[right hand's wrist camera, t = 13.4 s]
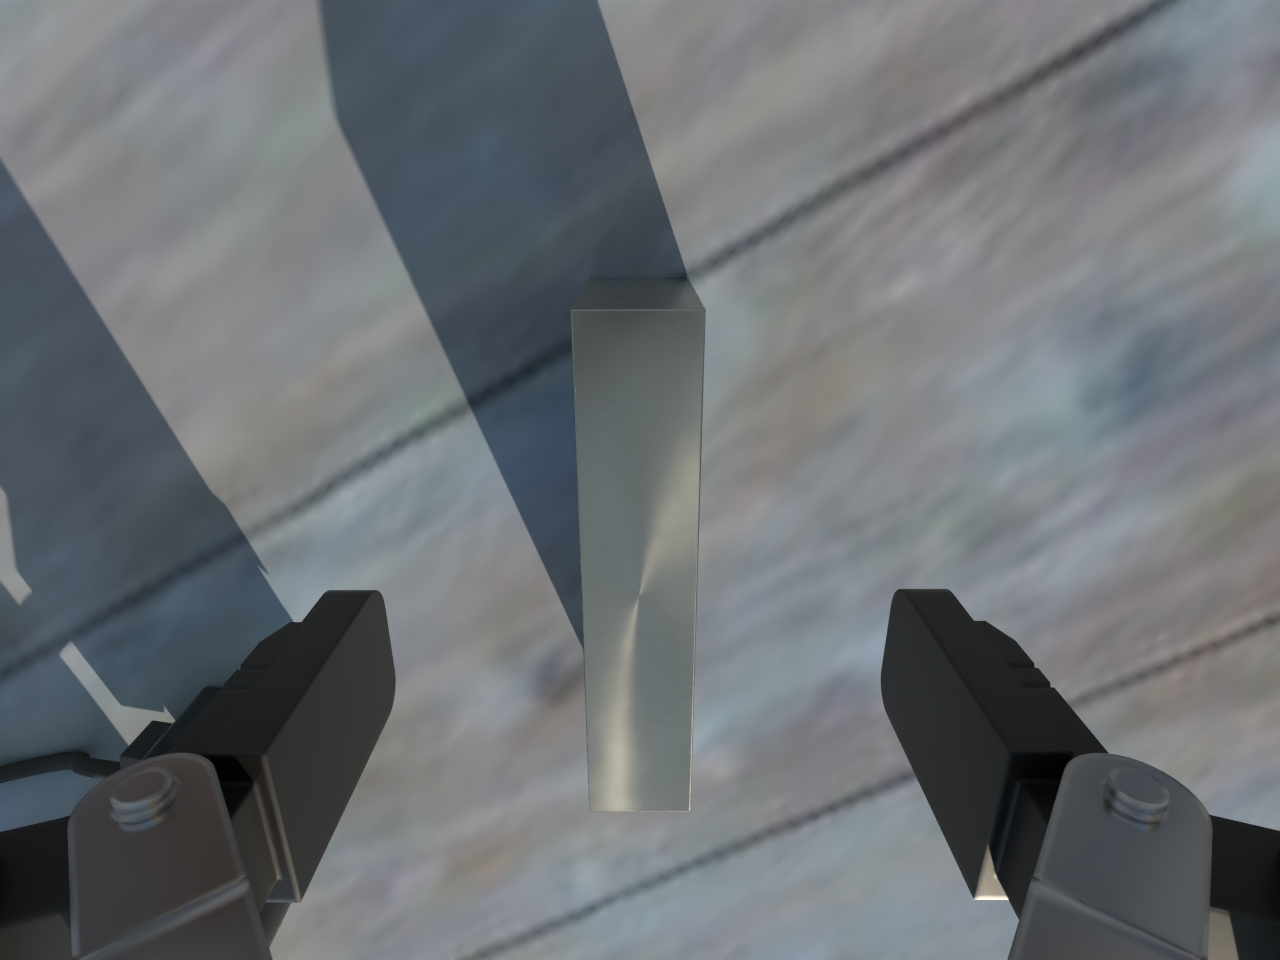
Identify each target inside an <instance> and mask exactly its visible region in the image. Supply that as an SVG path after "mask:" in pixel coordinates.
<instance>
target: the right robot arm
mask: <svg viewBox="0 0 1280 960" xmlns="http://www.w3.org/2000/svg"><path fill="white" fill-rule="evenodd" d="M881 691H882V698H883V703H884V707H885V710H886V713H887V715H888V717H889V720H890V722H891V724H892V726H893V728H894V730H895V732H896V734H897V737H898V739H899V741H900V743H901V745H902V747H903V749H904V751H905V754H906V756H907V758H908V760H909V762H910V764H911V766H912V768H913V771H914V773H915V775H916V777H917V779H918V781H919V783H920V786H921V788H922V790H923V792H924V794H925V796H926V798H927V800H928V803H929V805H930V807H931V809H932V811H933V813H934V815H935V817H936V820H937V822H938V824H939V826H940V828H941V830H942V832H943V835H944V837H945V839H946V841H947V843H948V845H949V847H950V849H951V852H952V854H953V856H954V858H955V860H956V862H957V864H958V866H959V869H960V871H961V873H962V875H963V877H964V879H965V881H966V884H967V886H968V888H969V890H970V892H971V894H972V896H973V898H974V900H1009V901H1010V903H1011V905H1012V907H1013V909H1014V911H1015V913H1016V915H1017V917H1018V919H1019V923H1018V926H1017V929H1016V933H1015V936H1014V940H1013V943H1012V946H1011V950H1010V953H1009V957H1008V960H1280V831H1277V830H1273V829H1269V828H1264V827H1260V826H1256V825H1251V824H1247V823H1243V822H1238V821H1234V820H1230V819H1225V818H1221V817H1217V816H1212V815H1209V814H1208V812H1207V810H1206V809H1205V807H1204V805H1203V804H1202V803H1201V802H1200V801H1199V799H1198V798H1197V797H1196V796H1195V795H1194V794H1193V793H1192V792H1191V791H1190V790H1189V789H1187V788H1186V787H1185V786H1184V785H1182V784H1181V783H1180V782H1178V781H1177V780H1176V779H1174V778H1172V777H1171V776H1169V775H1168V774H1166V773H1164V772H1162V771H1161V770H1159V769H1157V768H1155V767H1153V766H1150V765H1148V764H1146V763H1143V762H1141V761H1138V760H1135V759H1132V758H1129V757H1124V756H1120V755H1115V754H1109V753H1108V752H1107V751H1106V749H1105V748H1104V747H1103V746H1102V745H1101V743H1100V742H1099V741H1098V740H1097V739H1096V737H1095V736H1094V735H1093V734H1092V733H1091V731H1090V730H1089V729H1088V728H1087V727H1086V725H1085V724H1084V723H1083V722H1082V721H1081V719H1080V718H1079V717H1078V716H1077V714H1076V713H1075V712H1074V711H1073V710H1072V708H1071V707H1070V706H1069V705H1068V704H1067V702H1066V701H1065V700H1064V699H1063V698H1062V696H1061V695H1060V694H1059V693H1058V692H1057V690H1056V689H1055V688H1051V687H1050V682H1049V681H1048V680H1047V678H1046V677H1045V676H1044V675H1043V673H1042V672H1041V671H1040V670H1039V669H1038V668H1035V667H1034V663H1033V661H1032V660H1031V659H1030V658H1029V657H1028V655H1027V654H1026V653H1025V652H1024V651H1023V649H1022V648H1021V647H1020V646H1019V645H1018V643H1017V642H1016V641H1015V640H1014V639H1012V638H1011V637H1009V636H1007V635H1006V634H1004V633H1003V632H1001V631H1000V630H998V629H997V628H995V627H994V626H992V625H991V624H989V623H988V622H986V621H974V620H973V619H972V618H971V616H970V615H969V614H968V613H967V611H966V610H965V609H964V607H963V606H962V605H961V603H960V602H959V601H958V600H957V598H956V597H955V596H954V594H953V593H952V592H951V591H950V590H948V589H898V590H897V591H896V592H895V594H894V596H893V599H892V603H891V610H890V616H889V623H888V630H887V636H886V643H885V650H884V657H883V663H882V670H881ZM394 695H395V669H394V663H393V656H392V649H391V643H390V636H389V630H388V623H387V616H386V610H385V604H384V600H383V597H382V595H381V593H380V592H379V591H377V590H329V591H327V592H325V593H324V594H323V595H322V597H321V598H320V599H319V600H318V602H317V603H316V604H315V606H314V607H313V608H312V609H311V611H310V612H309V613H308V615H307V616H306V617H305V618H304V620H303V621H302V622H290V623H288V624H287V625H285V626H284V627H282V628H281V629H279V630H278V631H276V632H275V633H273V634H272V635H270V636H269V637H267V638H266V639H264V640H263V641H261V642H260V643H259V644H258V645H257V646H256V648H255V649H254V650H253V651H252V652H251V654H250V655H249V656H248V657H247V658H246V660H245V661H244V662H243V663H242V664H241V669H240V670H236V672H235V673H234V674H233V675H232V676H231V677H230V679H229V680H228V681H227V682H226V683H225V688H223V689H218V688H211V687H205V688H203V690H202V691H201V692H200V693H199V694H198V695H197V696H196V698H195V699H194V700H193V701H192V702H191V703H190V704H189V706H188V707H187V708H186V709H185V710H184V711H183V713H182V714H181V715H180V716H179V717H178V718H177V719H176V721H175V722H174V723H173V724H172V723H166V722H159V721H152V722H151V723H150V724H149V725H148V726H147V727H146V728H145V729H144V730H143V731H142V732H141V734H140V735H139V736H138V737H137V738H136V739H135V740H134V741H133V742H132V743H131V744H130V746H129V747H128V748H127V749H126V750H125V751H124V752H123V753H122V754H121V755H120V762H115V761H108V760H101V759H95V758H91V757H90V756H89V754H87V753H84V752H69V753H61V754H55V755H50V756H45V757H40V758H35V759H31V760H27V761H22V762H18V763H14V764H10V765H6V766H2V767H0V783H3V782H7V781H11V780H15V779H19V778H23V777H28V776H32V775H37V774H41V773H47V772H52V771H59V770H69V769H72V770H73V772H75V773H78V774H80V775H84V776H88V777H93V778H99V779H104V780H103V781H102V782H100V783H99V784H98V785H96V786H95V787H94V788H93V789H91V790H90V791H89V792H88V793H87V794H86V795H85V796H84V797H83V798H82V799H81V801H80V802H79V803H78V804H77V805H76V807H75V809H74V810H73V812H72V814H71V816H67V817H64V818H60V819H55V820H51V821H47V822H42V823H38V824H34V825H29V826H25V827H21V828H16V829H12V830H8V831H3V832H0V960H272V957H271V953H270V950H269V948H270V946H271V943H272V941H273V939H274V937H275V935H276V933H277V931H278V929H279V927H280V925H281V923H282V921H283V919H284V917H285V915H286V913H287V911H288V909H289V907H290V905H291V902H301V900H302V898H303V896H304V894H305V892H306V890H307V888H308V886H309V883H310V881H311V879H312V877H313V875H314V873H315V871H316V869H317V867H318V865H319V862H320V860H321V858H322V856H323V854H324V852H325V850H326V848H327V846H328V844H329V841H330V839H331V837H332V835H333V833H334V831H335V829H336V827H337V825H338V822H339V820H340V818H341V816H342V814H343V812H344V810H345V808H346V806H347V804H348V801H349V799H350V797H351V795H352V793H353V791H354V789H355V787H356V785H357V782H358V780H359V778H360V776H361V774H362V772H363V770H364V768H365V766H366V764H367V761H368V759H369V757H370V755H371V753H372V751H373V749H374V747H375V745H376V743H377V740H378V738H379V736H380V734H381V732H382V730H383V728H384V726H385V724H386V721H387V719H388V717H389V715H390V713H391V709H392V706H393V701H394Z"/></svg>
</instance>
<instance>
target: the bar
mask: <svg viewBox="0 0 1280 960" xmlns="http://www.w3.org/2000/svg"><path fill="white" fill-rule="evenodd" d="M705 311H706V310H705V308H704V306H703V304H702V303H701V301H700V299H699V297H698V295H697V293H696V292H695V290H694V288H693V286H692V284H691V282H690V280H689V279H588V281H587V282H586V284H585V286H584V288H583V289H582V291H581V293H580V295H579V296H578V298H577V300H576V302H575V303H574V305H573V307H572V309H571V334H572V360H573V387H574V413H575V440H576V466H577V493H578V519H579V546H580V572H581V599H582V625H583V652H584V678H585V704H586V731H587V757H588V784H589V810H590V811H591V812H629V811H690V808H691V775H692V742H693V709H694V675H695V642H696V609H697V576H698V543H699V510H700V477H701V444H702V411H703V377H704V344H705Z"/></svg>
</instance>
